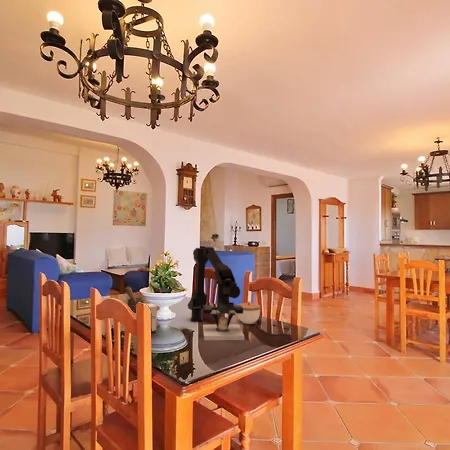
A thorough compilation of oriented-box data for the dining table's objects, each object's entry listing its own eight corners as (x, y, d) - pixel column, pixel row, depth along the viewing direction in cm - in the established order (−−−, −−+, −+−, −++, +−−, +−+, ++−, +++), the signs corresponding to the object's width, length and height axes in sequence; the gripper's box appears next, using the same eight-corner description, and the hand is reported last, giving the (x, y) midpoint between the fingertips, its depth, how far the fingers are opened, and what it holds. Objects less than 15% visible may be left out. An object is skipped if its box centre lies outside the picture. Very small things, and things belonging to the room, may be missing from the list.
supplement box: (140, 334, 151) (141, 307, 151) (137, 330, 157) (138, 304, 157) (156, 332, 154) (157, 306, 154) (152, 328, 160) (153, 302, 161)
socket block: (202, 328, 162) (203, 324, 162) (238, 328, 164) (238, 324, 164) (204, 340, 144) (204, 335, 144) (244, 340, 146) (244, 335, 146)
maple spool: (217, 329, 156) (217, 316, 156) (226, 329, 157) (227, 316, 157) (218, 332, 152) (218, 319, 152) (227, 332, 152) (228, 319, 152)
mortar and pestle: (138, 328, 161) (139, 287, 161) (121, 327, 161) (122, 287, 162) (145, 321, 172) (147, 284, 173) (130, 321, 173) (131, 283, 173)
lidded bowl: (248, 327, 167) (249, 305, 167) (232, 321, 176) (232, 301, 176) (265, 323, 175) (265, 302, 175) (248, 318, 184) (248, 298, 185)
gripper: (204, 297, 146) (203, 332, 145) (245, 298, 148) (244, 332, 147) (203, 293, 157) (202, 325, 156) (241, 293, 159) (241, 325, 158)
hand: (222, 327), depth 154 cm, fingers closed on maple spool, 4 cm apart
